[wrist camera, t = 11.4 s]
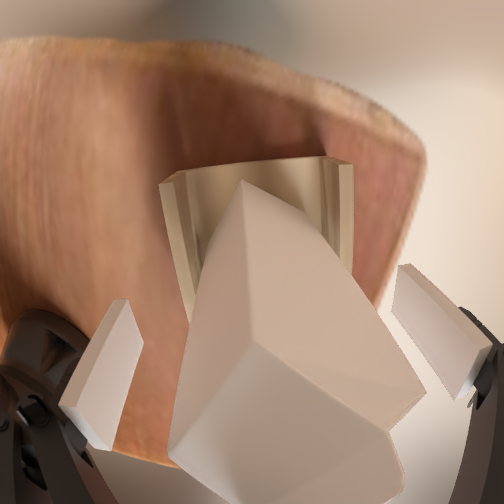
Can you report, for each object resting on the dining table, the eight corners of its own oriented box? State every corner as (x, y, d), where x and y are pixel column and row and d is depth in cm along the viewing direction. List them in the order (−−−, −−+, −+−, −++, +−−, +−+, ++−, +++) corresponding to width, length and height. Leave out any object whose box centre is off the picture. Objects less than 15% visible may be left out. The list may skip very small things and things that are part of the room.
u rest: (199, 292, 28) (191, 331, 22) (176, 171, 23) (158, 184, 18) (329, 277, 28) (348, 312, 22) (326, 155, 23) (353, 164, 18)
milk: (305, 212, 24) (476, 468, 4) (269, 271, 26) (329, 545, 6) (239, 177, 23) (270, 496, 3) (206, 241, 25) (155, 540, 4)
